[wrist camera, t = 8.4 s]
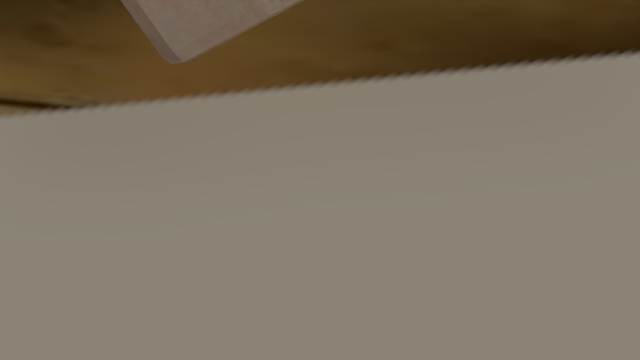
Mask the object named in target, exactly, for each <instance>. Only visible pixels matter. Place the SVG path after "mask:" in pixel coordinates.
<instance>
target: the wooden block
mask: <svg viewBox="0 0 640 360" xmlns="http://www.w3.org/2000/svg"><path fill="white" fill-rule="evenodd" d="M303 1H304V0H121V2H122V3H123V5H124V6H125V7H126V9H127V10H128V11H129V13H130V14H131V16H132V17H133V18H134V20H135V21H136V22H137V24H138V25H139V26H140V28H141V29H142V31H143V32H144V33H145V35H146V36H147V37H148V39H149V40H150V42H151V43H152V44H153V46H154V47H155V48H156V50H157V51H158V53H159V54H160V55H161V57H163V58H164V59H165V60H166V61H168V62H169V63H170V64H172V65H173V64H179V63H185V62H190V61H192V60H194V59H196V58H198V57H200V56H202V55H204V54H205V53H207V52H209V51H211V50H213V49H215V48H217V47H218V46H220V45H222V44H224V43H226V42H228V41H230V40H232V39H233V38H235V37H237V36H239V35H241V34H243V33H245V32H246V31H248V30H250V29H252V28H254V27H256V26H258V25H260V24H261V23H263V22H265V21H267V20H269V19H271V18H273V17H275V16H276V15H278V14H280V13H282V12H284V11H286V10H288V9H289V8H291V7H293V6H295V5H297V4H299V3H301V2H303Z"/></svg>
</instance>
